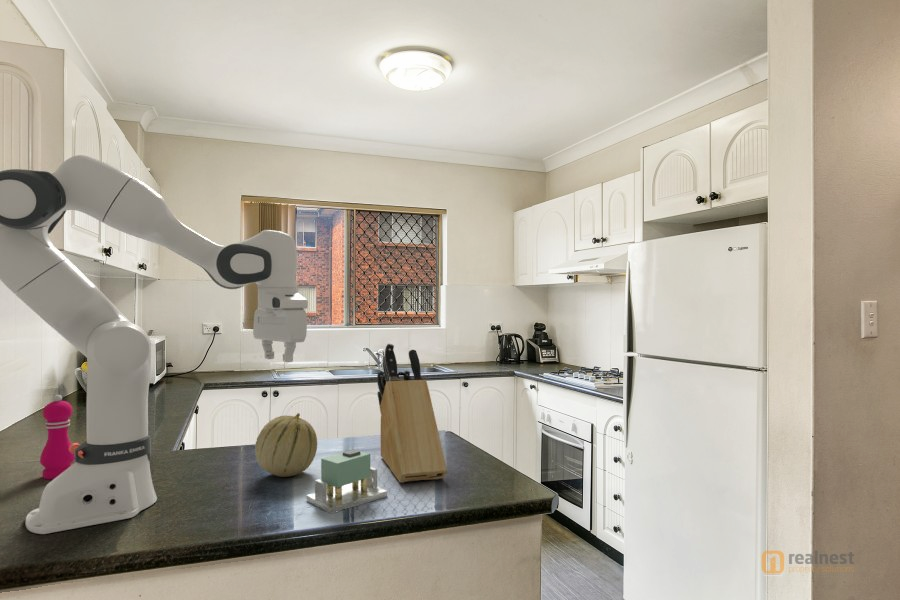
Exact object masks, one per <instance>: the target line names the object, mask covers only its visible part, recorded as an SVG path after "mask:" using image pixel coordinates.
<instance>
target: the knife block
mask: <svg viewBox="0 0 900 600" xmlns="http://www.w3.org/2000/svg"><path fill="white" fill-rule="evenodd" d="M394 348H395V345H394V344H391V343H387V344H386V346H385V349H384V355H383V359H382V367H383V368H382V370H383V371H378V373H377V377H376V381H377V388H378V390H379V391H377V398H378V405H379V411H380V412H379V413H380V457H381V458H382V459H383V461H384V462H385V463H386V465H387V466H388V467H389V469H390V470H391V472H392V474H393V475H394V477H395V478H396V479H397V480H398V482H399V483H407V482H414V481H423V480H424V481H429V480H439V479H444V478H446V475H447V472H448V470H447V465H446V459H445V456H444V452H443V447H442V444H441V443H442V442H441V438H440V433H439V429H438V424H437V421H436V416H435V411H434V408H433V402H432V398H431V393H430V389H429V385H428V382H427V380H426V379H424V378H422V375H421V373H422V372H421V364H420V359H419V356H418V353H417V350H415V349H410V350H409V351H408V358H409V361H410V367H411V371H412V374H413V377H414V380H412V378H411V376H410V375H411V371H409V370H405V371H404V372H403V371H399V372H398V362H397V357H396V354H395V351H394ZM400 376H402V377H403V378H401V379H400Z"/></svg>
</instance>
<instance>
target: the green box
mask: <svg viewBox="0 0 900 600" xmlns="http://www.w3.org/2000/svg"><path fill="white" fill-rule="evenodd" d="M320 460H321V461H320V463H321V464H320V465H321V467H320V468H321V471H320V472H321V479H320V480H322V481H324V482H326V483H327V484H329V485H332V486H333V488H334V487H337V488H338V487H341V486H344V485H347V484H350V483H353V482H356V481H360V480H362V479H365V478H368V477H371V474H370V467H371V453H368V452H365V451H361V450H358V449H351V450H347V451H344V452H341V453H340V452H339V453H337V454H333V455H330V456H325V457H322V458H321V459H320Z"/></svg>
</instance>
